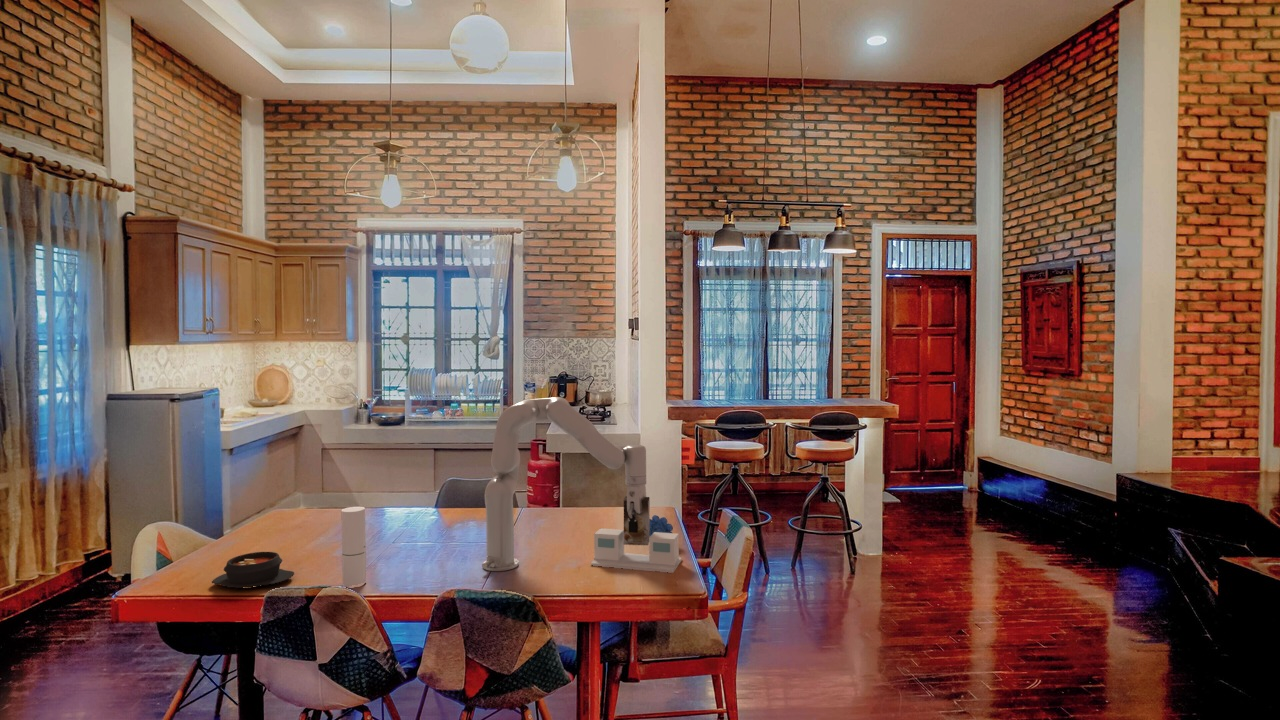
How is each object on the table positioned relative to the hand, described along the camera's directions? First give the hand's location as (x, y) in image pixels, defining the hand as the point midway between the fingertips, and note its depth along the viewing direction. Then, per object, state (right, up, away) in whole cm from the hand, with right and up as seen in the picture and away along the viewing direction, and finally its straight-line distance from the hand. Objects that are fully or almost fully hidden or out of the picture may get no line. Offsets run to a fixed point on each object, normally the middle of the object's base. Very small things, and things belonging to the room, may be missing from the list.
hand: (636, 529), depth 239 cm
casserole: (-127, -14, -17) cm, 129 cm away
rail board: (0, -12, 0) cm, 12 cm away
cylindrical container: (-93, -14, -19) cm, 96 cm away
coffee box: (0, -5, 0) cm, 5 cm away
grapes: (+9, -12, +20) cm, 25 cm away
